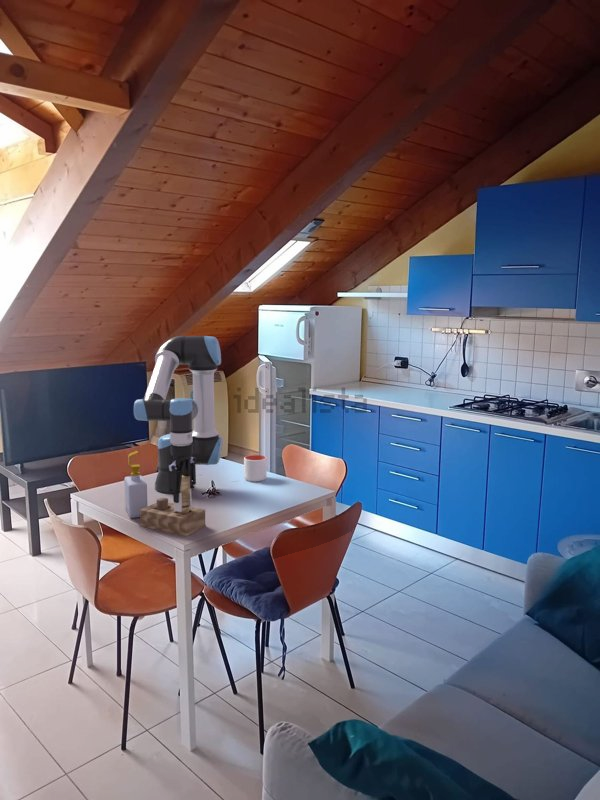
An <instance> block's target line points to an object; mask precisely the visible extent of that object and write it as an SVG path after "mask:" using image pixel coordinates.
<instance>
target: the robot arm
mask: <svg viewBox="0 0 600 800" xmlns="http://www.w3.org/2000/svg"><path fill="white" fill-rule="evenodd" d="M154 361H155V362H154V363H155V364H154V367H153V371H152V373H151V377H150V379H149V381H148V382H149V383H148V385H147V388H146V391H145V394H144V397H143V398H141V399H136V400H135V401H134V403H133V417H134V419H136V420H137V421H145V422H156V421H157V422H160V421H161V422H169V426H170V427H169V428H170V430H169V431H170V432H169V433H168V434H163V435H162V436H160V437H159V438H158V441H157V443H158V444H157V451H158V452H157V455H158V457H157V458H158V472H157V475H156V479H155V483H154V489H155V491H157V492H159V493H166V494H172V496H173V504H174V511H178V512H181V511H182V493H180V487H181V479H182V475H184V476H190V500H189V507H193V504H192V503H193V502H192V496H193V490H192V489H195V485H196V484H197V474H196V473H197V472H196V471H197V470H196V466H197V465H205V466H208V465H209V466H210V465H218V464H219V462H220V460H221V455H222V448H223V437H221V436H220V435H219V431H218V430H217V429H216V424H215V422H216V420H215V377H214V375H215V372H216V371H217V370H218V366H220V365H221V364H222V353H221V346H220V343H219V339H217V338H216V337H215V336H210V335H209V336H208V335H179V336H178V335H177V336H174V337H172V338H170V339H168V340H167V341H166V342H164V343H163V344H162V345H161V346H160V347H159V348H158V350H157V351H156V354H155V357H154ZM179 365H188V370H189V371H190V372H191V373H192V398H186V397H175V398H172V399H167V395H168V393H169V389H170V387H171V386H170V385H171V382H172V379H173V375H174V373H175V370H176V369H177V368H178V367H179Z"/></svg>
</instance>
